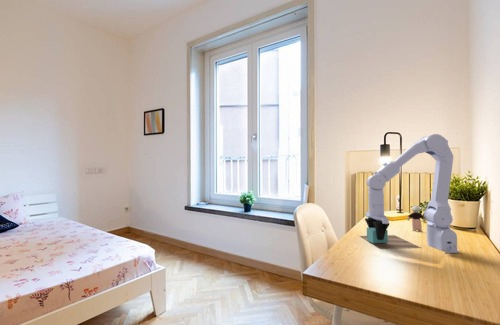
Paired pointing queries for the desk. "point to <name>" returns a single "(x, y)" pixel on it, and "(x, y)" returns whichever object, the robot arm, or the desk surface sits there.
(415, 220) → the grandmother figurine
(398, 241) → the plate
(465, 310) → the desk surface
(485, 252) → the desk surface
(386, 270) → the desk surface
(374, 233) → the teal mini fridge
